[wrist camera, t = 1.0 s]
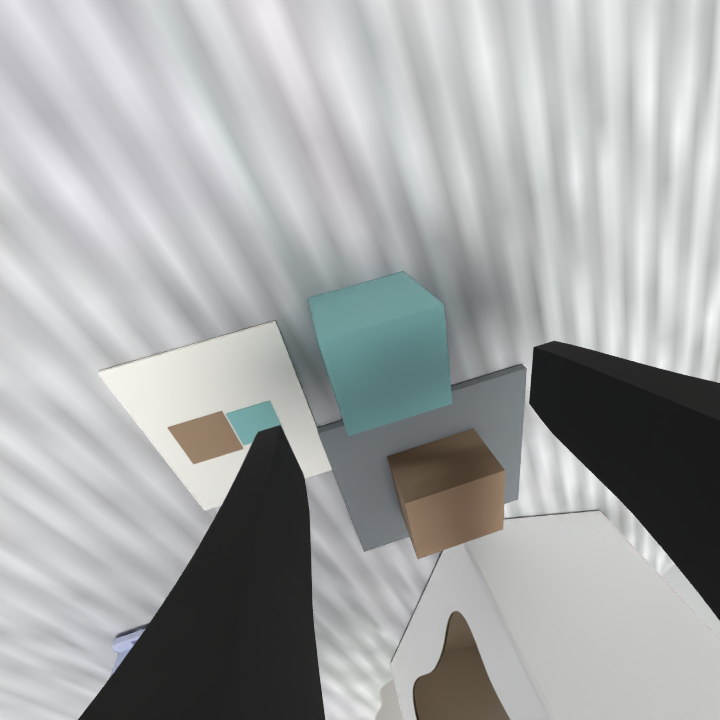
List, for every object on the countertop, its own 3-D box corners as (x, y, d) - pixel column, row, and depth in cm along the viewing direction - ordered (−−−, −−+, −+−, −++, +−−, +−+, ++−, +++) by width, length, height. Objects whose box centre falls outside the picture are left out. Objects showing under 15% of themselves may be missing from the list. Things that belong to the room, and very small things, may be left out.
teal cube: (332, 377, 15) (348, 436, 12) (307, 297, 13) (317, 341, 10) (414, 352, 16) (452, 403, 12) (402, 270, 13) (444, 304, 10)
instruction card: (205, 508, 17) (204, 512, 17) (99, 370, 13) (96, 373, 13) (332, 467, 18) (333, 470, 18) (275, 320, 13) (275, 322, 13)
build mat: (362, 546, 22) (363, 551, 22) (317, 427, 16) (317, 433, 16) (514, 494, 23) (517, 499, 23) (521, 364, 17) (526, 368, 17)
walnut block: (400, 510, 20) (417, 559, 18) (387, 456, 18) (404, 503, 15) (475, 485, 21) (503, 529, 18) (473, 428, 18) (505, 470, 16)
